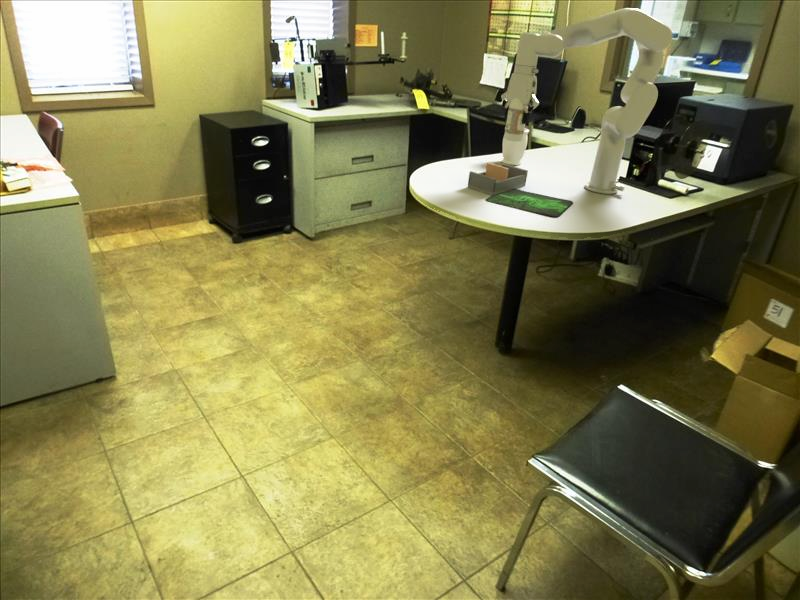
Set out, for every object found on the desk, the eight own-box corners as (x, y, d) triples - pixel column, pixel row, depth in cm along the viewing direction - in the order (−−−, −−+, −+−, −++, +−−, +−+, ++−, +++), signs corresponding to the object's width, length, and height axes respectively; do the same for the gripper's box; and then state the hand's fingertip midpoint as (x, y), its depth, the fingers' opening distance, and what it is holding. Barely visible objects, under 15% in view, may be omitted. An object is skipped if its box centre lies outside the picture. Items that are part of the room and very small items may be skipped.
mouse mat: (482, 201, 203) (482, 198, 203) (504, 187, 220) (505, 185, 220) (557, 219, 192) (557, 216, 192) (574, 203, 209) (574, 201, 209)
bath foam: (512, 142, 212) (522, 85, 202) (500, 137, 217) (509, 82, 207) (526, 141, 215) (536, 85, 206) (513, 136, 220) (523, 82, 211)
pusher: (505, 186, 216) (508, 168, 213) (497, 188, 213) (500, 170, 209) (486, 180, 221) (488, 162, 218) (478, 182, 218) (480, 164, 215)
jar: (516, 159, 260) (522, 126, 253) (527, 165, 251) (533, 131, 244) (495, 160, 257) (500, 125, 249) (506, 166, 248) (511, 131, 241)
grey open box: (525, 185, 224) (527, 170, 221) (492, 195, 209) (494, 179, 206) (500, 178, 231) (503, 163, 228) (467, 187, 216) (469, 171, 213)
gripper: (551, 73, 202) (541, 125, 210) (510, 66, 212) (502, 116, 220) (539, 74, 197) (530, 127, 205) (499, 67, 207) (491, 117, 215)
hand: (516, 121), depth 213 cm, fingers closed on bath foam, 7 cm apart
